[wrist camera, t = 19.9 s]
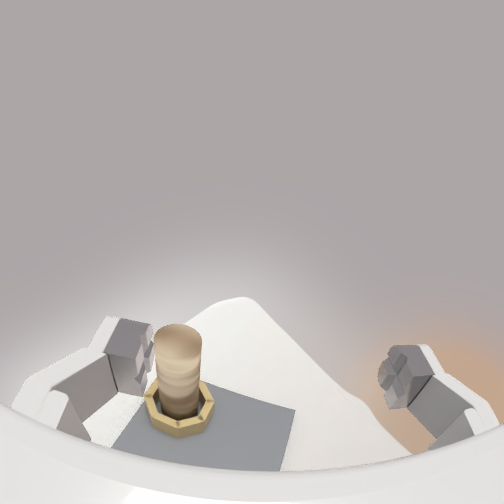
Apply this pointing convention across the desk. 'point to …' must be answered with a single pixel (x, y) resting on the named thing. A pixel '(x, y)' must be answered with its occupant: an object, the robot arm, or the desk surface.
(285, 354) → the desk surface
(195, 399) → the ash peg
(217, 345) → the desk surface
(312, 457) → the desk surface
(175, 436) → the socket board
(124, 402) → the desk surface
